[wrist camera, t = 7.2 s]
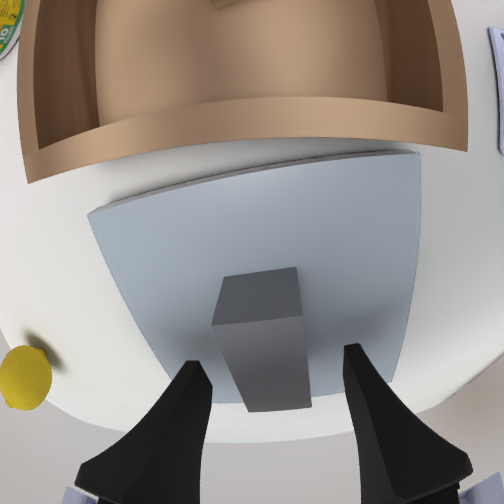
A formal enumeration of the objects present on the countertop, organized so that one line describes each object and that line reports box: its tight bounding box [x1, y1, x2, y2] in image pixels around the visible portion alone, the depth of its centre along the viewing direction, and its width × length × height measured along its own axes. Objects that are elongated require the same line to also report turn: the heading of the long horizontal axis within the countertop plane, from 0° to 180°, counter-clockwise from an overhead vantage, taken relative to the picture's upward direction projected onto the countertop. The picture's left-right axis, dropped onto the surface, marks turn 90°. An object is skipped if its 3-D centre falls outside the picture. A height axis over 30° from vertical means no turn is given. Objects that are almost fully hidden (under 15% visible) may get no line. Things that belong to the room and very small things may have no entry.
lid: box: [87, 150, 421, 412], centre depth 12 cm, size 14×14×6 cm
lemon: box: [0, 345, 52, 410], centre depth 16 cm, size 6×6×8 cm
